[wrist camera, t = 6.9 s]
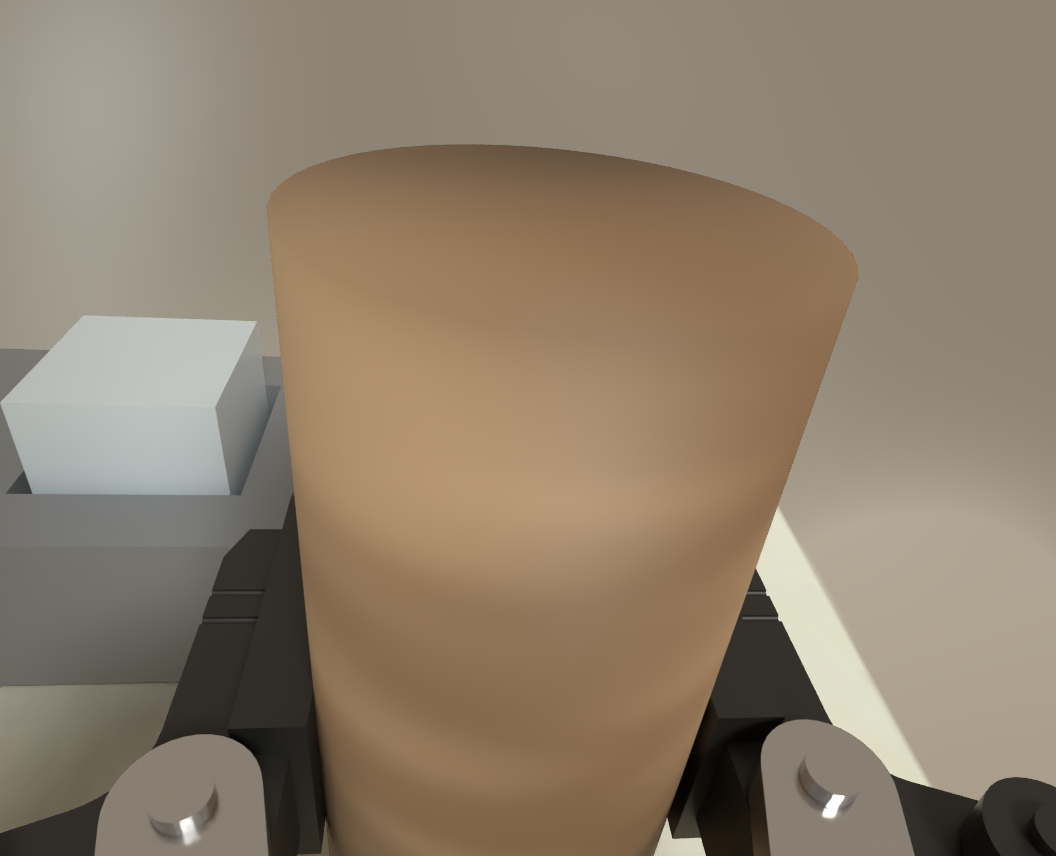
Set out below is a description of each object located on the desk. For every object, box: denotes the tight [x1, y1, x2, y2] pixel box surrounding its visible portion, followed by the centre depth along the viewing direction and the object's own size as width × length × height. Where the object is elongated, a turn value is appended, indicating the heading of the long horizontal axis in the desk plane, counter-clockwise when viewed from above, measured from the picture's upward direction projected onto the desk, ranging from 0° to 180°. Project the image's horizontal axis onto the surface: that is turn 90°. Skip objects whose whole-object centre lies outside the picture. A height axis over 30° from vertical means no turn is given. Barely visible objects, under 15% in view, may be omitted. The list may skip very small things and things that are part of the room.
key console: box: [0, 349, 294, 686], centre depth 23 cm, size 27×10×5 cm, turn 95°
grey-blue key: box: [0, 315, 269, 495], centre depth 22 cm, size 5×5×4 cm
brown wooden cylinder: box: [267, 145, 858, 856], centre depth 9 cm, size 4×4×14 cm
